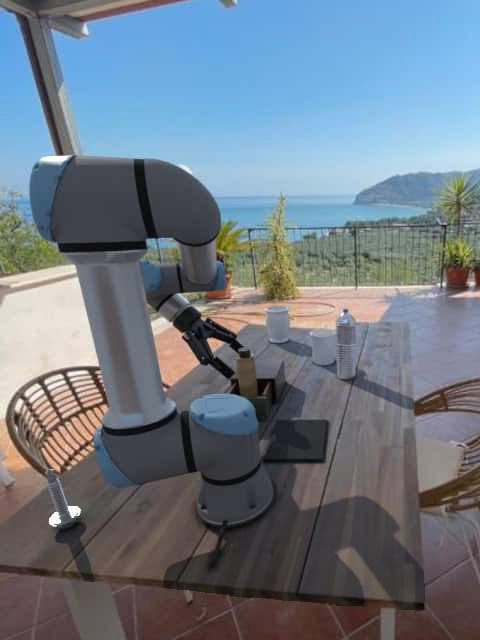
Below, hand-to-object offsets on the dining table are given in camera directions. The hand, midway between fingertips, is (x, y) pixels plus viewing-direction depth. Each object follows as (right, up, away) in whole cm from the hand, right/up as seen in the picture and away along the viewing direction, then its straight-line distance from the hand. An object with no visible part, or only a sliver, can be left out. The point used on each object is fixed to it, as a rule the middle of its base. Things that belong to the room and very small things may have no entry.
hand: (241, 366), depth 111 cm
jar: (-3, +9, +65) cm, 66 cm away
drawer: (+1, -13, +4) cm, 14 cm away
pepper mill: (+1, -12, +4) cm, 13 cm away
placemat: (+18, -19, -9) cm, 27 cm away
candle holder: (+20, 0, +42) cm, 46 cm away
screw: (-23, -30, -35) cm, 51 cm away
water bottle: (+29, -5, +29) cm, 41 cm away
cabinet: (+1, -9, +17) cm, 20 cm away
